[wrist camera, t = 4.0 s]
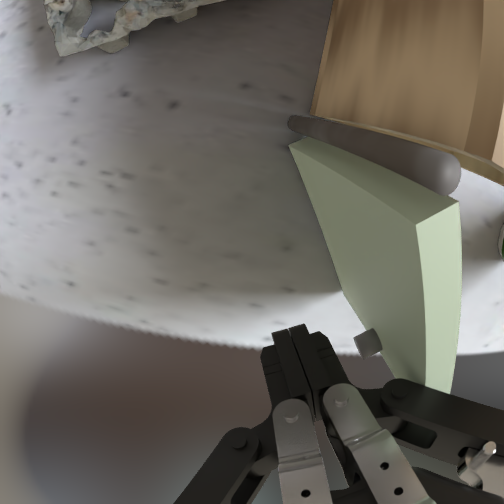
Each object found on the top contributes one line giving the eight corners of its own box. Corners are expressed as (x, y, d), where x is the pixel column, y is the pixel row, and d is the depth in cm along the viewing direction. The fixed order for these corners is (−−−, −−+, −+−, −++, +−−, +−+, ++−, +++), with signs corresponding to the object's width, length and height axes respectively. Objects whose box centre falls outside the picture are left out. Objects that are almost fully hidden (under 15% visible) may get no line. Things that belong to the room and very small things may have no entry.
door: (310, 135, 14) (458, 201, 5) (360, 286, 19) (446, 411, 10) (269, 153, 14) (372, 247, 5) (329, 301, 19) (401, 436, 10)
